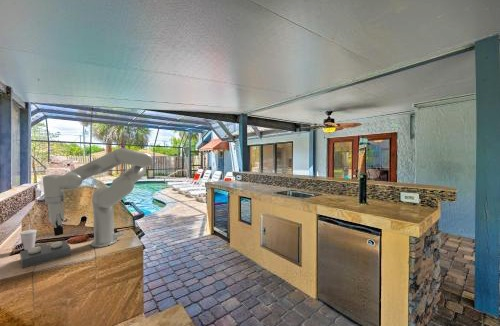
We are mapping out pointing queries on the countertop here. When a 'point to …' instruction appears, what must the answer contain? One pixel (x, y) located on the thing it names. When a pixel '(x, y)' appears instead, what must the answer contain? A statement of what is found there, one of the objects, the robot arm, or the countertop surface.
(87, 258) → the countertop surface
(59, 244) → the knob
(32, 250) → the knob
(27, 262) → the housing
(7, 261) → the countertop surface
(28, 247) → the smoothie
